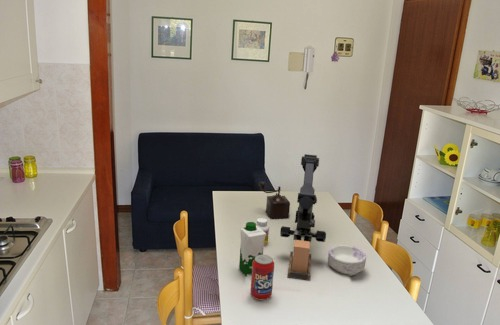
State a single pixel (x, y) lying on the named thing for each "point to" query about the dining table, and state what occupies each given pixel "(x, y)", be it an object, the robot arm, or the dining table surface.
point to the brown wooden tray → (296, 274)
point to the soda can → (262, 277)
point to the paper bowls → (346, 259)
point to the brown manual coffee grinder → (276, 204)
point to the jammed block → (300, 256)
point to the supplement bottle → (263, 228)
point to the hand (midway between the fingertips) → (300, 254)
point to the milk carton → (250, 246)
